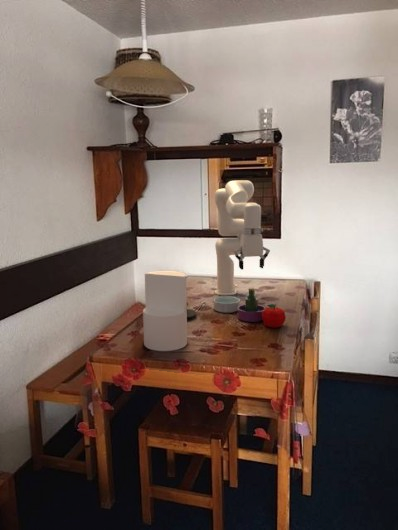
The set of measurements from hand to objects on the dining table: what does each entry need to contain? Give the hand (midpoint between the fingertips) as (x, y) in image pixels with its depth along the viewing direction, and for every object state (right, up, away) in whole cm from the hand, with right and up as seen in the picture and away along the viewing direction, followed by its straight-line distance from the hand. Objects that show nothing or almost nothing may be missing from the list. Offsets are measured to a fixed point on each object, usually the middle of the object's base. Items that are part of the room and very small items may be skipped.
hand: (251, 268), depth 211 cm
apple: (+9, -26, -7) cm, 28 cm away
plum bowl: (0, -24, +4) cm, 24 cm away
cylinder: (-38, -30, -27) cm, 55 cm away
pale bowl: (-10, -21, +19) cm, 30 cm away
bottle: (0, -23, +4) cm, 23 cm away
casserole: (-38, -23, +8) cm, 45 cm away
